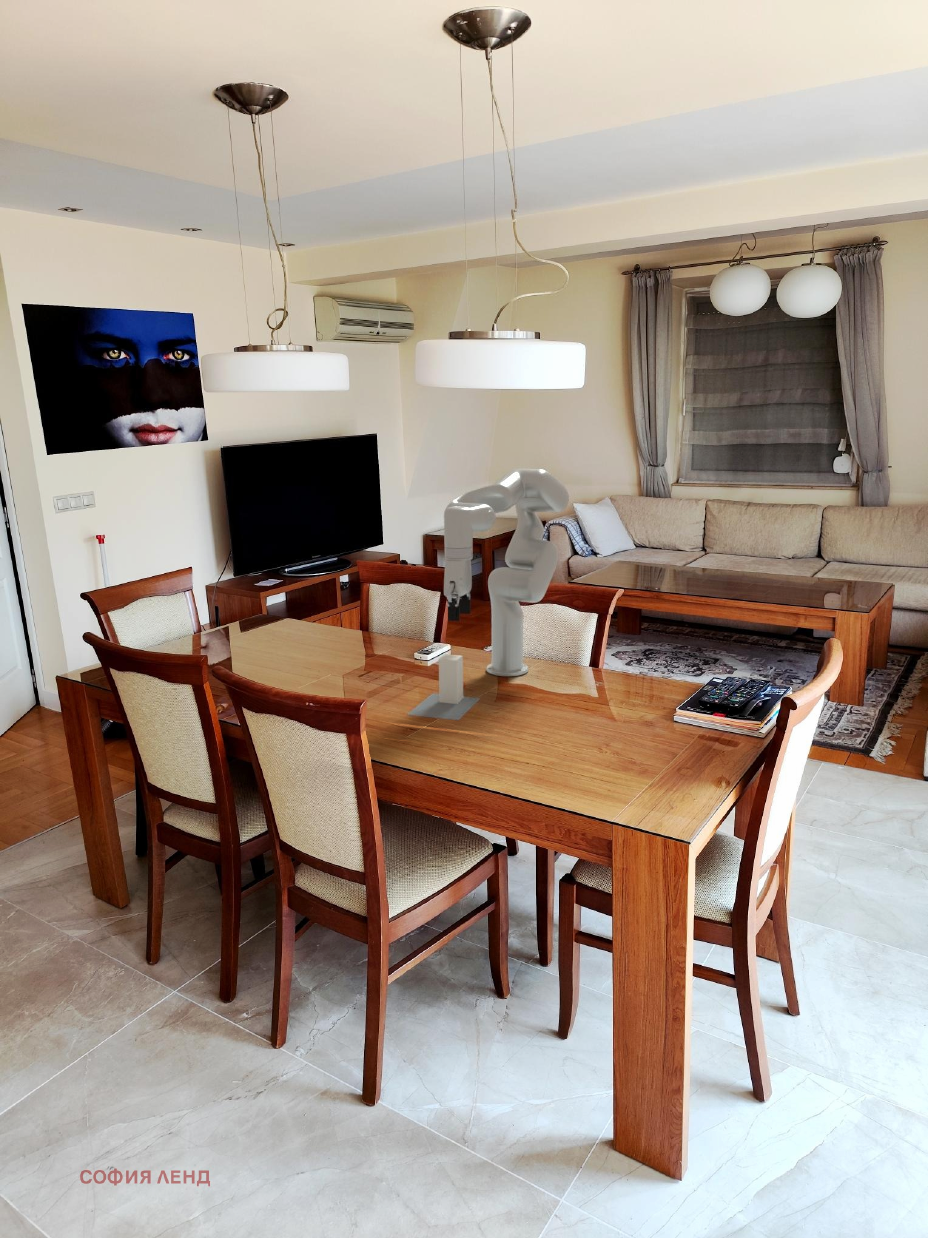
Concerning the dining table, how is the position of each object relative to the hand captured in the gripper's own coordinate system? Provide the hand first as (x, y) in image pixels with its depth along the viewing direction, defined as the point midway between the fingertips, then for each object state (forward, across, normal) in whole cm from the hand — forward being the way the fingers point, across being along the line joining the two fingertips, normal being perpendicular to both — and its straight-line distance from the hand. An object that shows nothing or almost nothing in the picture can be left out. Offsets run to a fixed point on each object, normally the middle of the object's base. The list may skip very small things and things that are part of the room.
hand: (459, 616), depth 230 cm
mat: (+22, +12, 0) cm, 25 cm away
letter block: (+21, +8, 0) cm, 23 cm away
